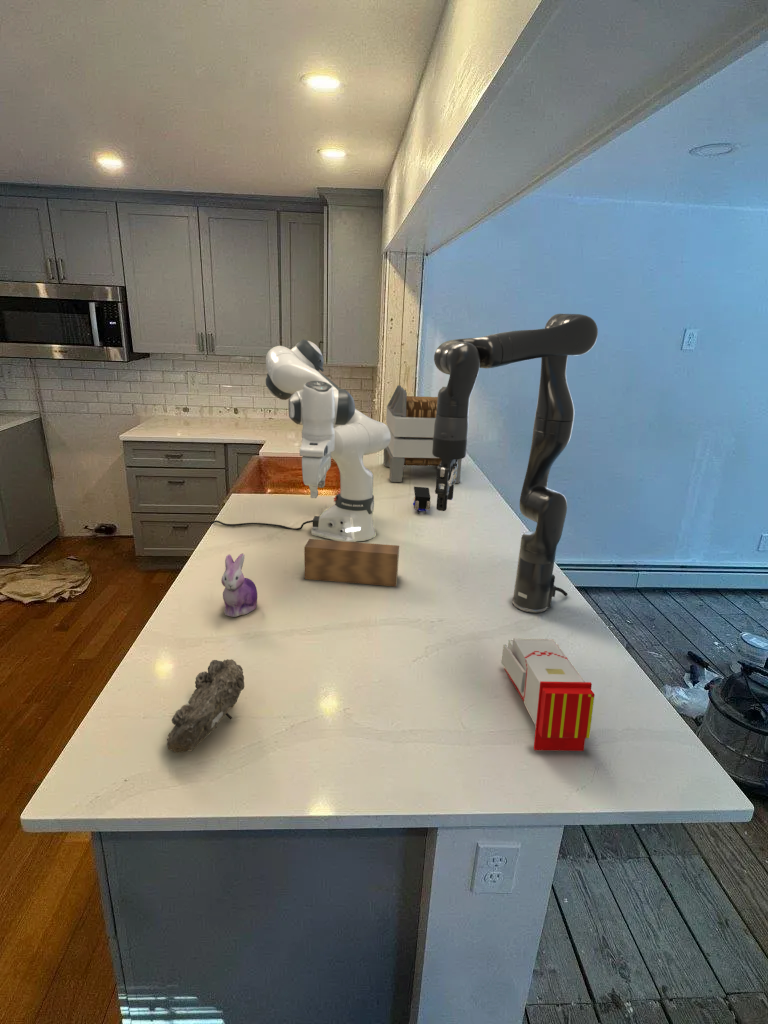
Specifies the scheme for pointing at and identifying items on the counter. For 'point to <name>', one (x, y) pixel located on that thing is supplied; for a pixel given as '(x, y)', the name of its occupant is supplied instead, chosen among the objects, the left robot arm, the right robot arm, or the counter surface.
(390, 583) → the box
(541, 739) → the toy
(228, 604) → the figurine
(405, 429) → the grey boxy stand
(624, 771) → the counter surface
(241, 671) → the fossil
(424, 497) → the figurine character
